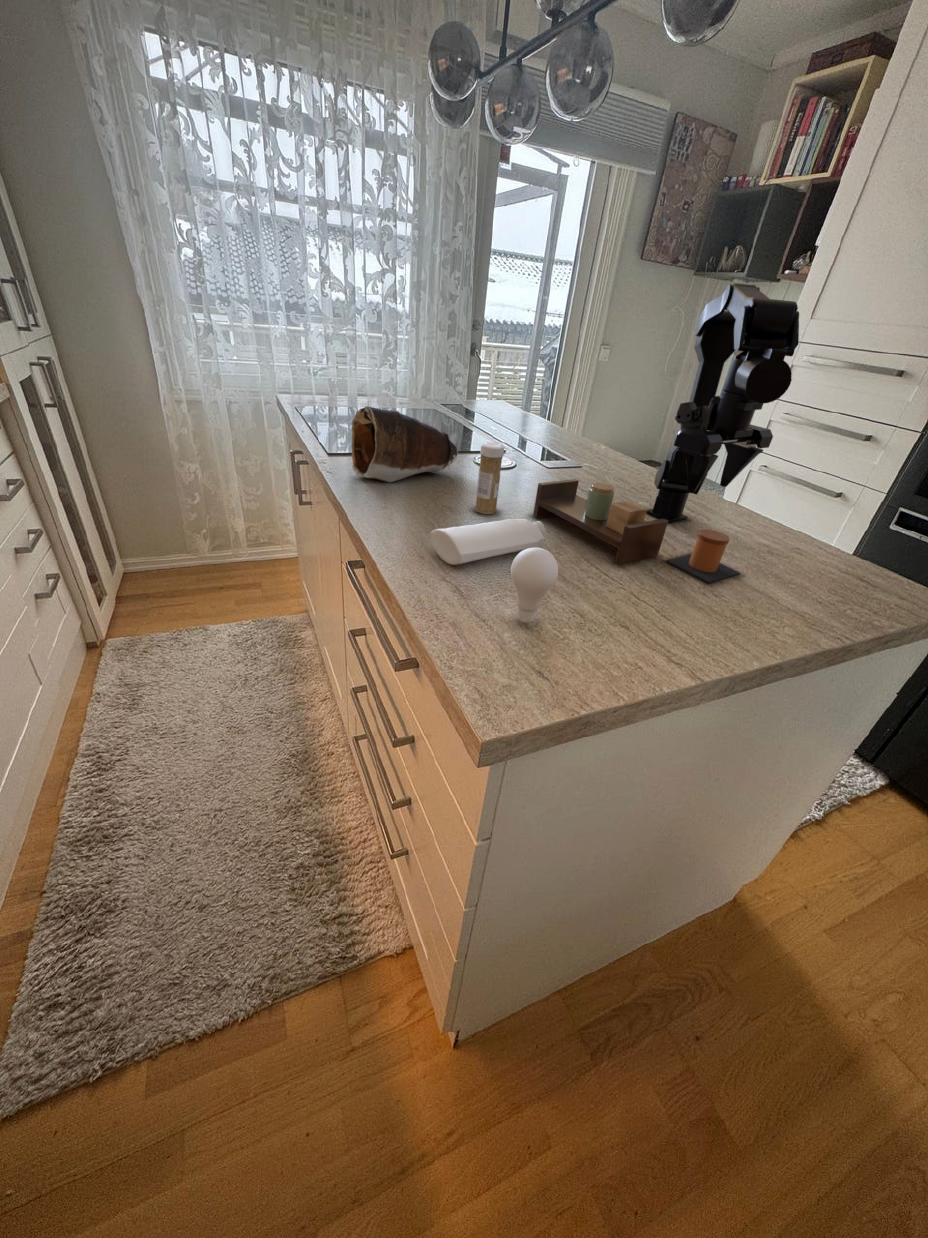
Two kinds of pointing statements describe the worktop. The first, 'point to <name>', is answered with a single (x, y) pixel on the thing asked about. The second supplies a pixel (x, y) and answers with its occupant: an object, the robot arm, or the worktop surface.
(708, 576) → the black rubber mat
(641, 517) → the oak block
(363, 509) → the worktop surface
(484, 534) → the squeeze bottle
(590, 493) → the sage jar
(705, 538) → the copper tin
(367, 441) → the clay pot
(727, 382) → the robot arm
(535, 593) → the lightbulb
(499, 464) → the sprinkles bottle
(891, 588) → the worktop surface
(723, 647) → the worktop surface
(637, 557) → the walnut shelf
